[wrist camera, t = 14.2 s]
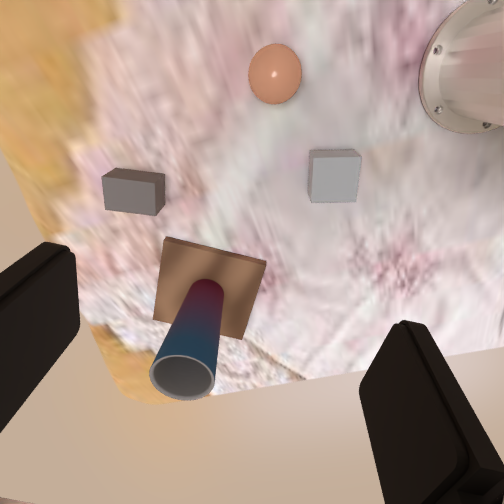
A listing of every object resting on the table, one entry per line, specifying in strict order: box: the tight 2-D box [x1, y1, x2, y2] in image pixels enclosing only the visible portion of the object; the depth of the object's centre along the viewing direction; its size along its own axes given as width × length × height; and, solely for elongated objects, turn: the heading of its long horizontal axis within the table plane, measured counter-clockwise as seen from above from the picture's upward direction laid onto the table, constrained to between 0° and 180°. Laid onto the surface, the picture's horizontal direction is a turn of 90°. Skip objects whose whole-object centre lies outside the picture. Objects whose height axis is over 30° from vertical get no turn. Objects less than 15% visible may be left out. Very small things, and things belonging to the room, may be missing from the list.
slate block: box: [308, 149, 362, 203], centre depth 37 cm, size 5×5×4 cm
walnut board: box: [153, 236, 266, 340], centre depth 48 cm, size 14×14×1 cm
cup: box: [149, 279, 224, 400], centre depth 40 cm, size 7×7×15 cm
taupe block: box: [102, 168, 165, 216], centre depth 39 cm, size 6×4×4 cm, turn 83°
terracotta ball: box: [248, 44, 302, 104], centre depth 33 cm, size 5×5×4 cm
